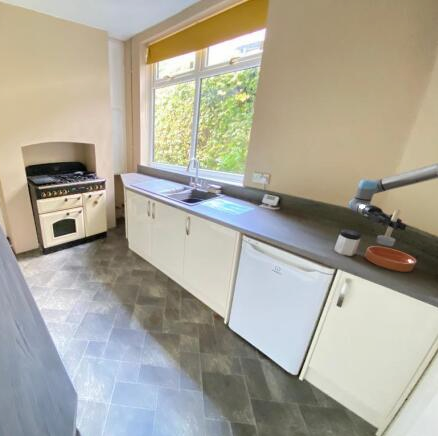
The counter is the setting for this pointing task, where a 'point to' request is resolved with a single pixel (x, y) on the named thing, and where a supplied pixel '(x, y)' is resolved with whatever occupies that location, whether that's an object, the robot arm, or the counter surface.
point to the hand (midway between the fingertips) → (400, 227)
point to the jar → (347, 242)
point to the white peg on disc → (388, 232)
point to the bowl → (390, 258)
